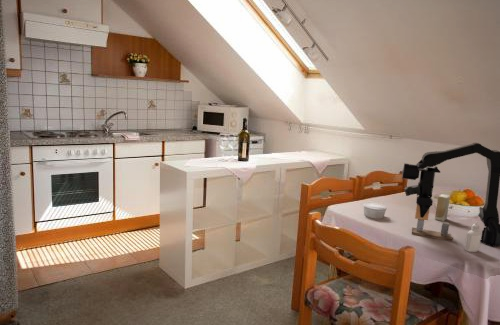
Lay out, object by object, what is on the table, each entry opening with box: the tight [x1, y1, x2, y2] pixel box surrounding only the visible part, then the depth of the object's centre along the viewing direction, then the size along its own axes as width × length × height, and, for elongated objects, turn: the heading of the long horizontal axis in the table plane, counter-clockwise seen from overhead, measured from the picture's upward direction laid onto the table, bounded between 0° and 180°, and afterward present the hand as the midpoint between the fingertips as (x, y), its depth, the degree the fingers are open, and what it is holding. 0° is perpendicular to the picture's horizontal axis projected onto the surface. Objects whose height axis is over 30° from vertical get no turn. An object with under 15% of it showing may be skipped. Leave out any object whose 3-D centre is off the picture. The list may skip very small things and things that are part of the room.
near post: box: [440, 221, 450, 237], centre depth 177 cm, size 3×3×6 cm
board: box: [411, 227, 453, 242], centre depth 179 cm, size 16×7×1 cm, turn 67°
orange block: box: [414, 203, 431, 221], centre depth 179 cm, size 5×5×7 cm
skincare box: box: [434, 193, 451, 222], centre depth 203 cm, size 6×4×12 cm
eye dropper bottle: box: [464, 221, 482, 253], centre depth 163 cm, size 4×6×12 cm
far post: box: [415, 219, 425, 232], centre depth 180 cm, size 3×3×6 cm
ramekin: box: [362, 202, 387, 220], centre depth 203 cm, size 11×11×5 cm
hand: (421, 215), depth 180 cm, fingers closed on orange block, 5 cm apart
